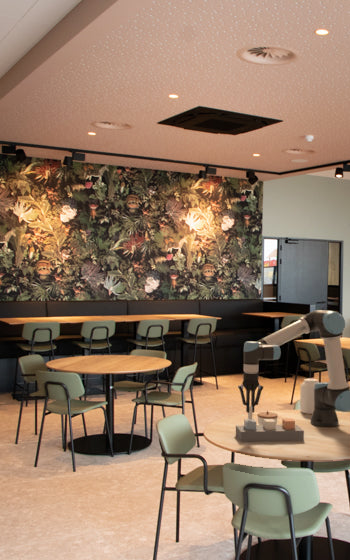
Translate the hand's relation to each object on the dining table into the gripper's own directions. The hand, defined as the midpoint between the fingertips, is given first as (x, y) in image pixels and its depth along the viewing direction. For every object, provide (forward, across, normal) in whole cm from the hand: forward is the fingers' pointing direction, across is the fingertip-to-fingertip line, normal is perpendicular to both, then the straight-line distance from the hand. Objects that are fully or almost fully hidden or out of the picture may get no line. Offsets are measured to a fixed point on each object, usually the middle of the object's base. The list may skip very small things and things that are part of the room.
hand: (250, 418), depth 295 cm
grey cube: (+6, 0, 0) cm, 6 cm away
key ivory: (+6, -10, 0) cm, 12 cm away
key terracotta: (+6, -20, 0) cm, 21 cm away
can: (+10, -51, -54) cm, 75 cm away
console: (+10, -10, 0) cm, 14 cm away
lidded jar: (+10, -14, -18) cm, 25 cm away
